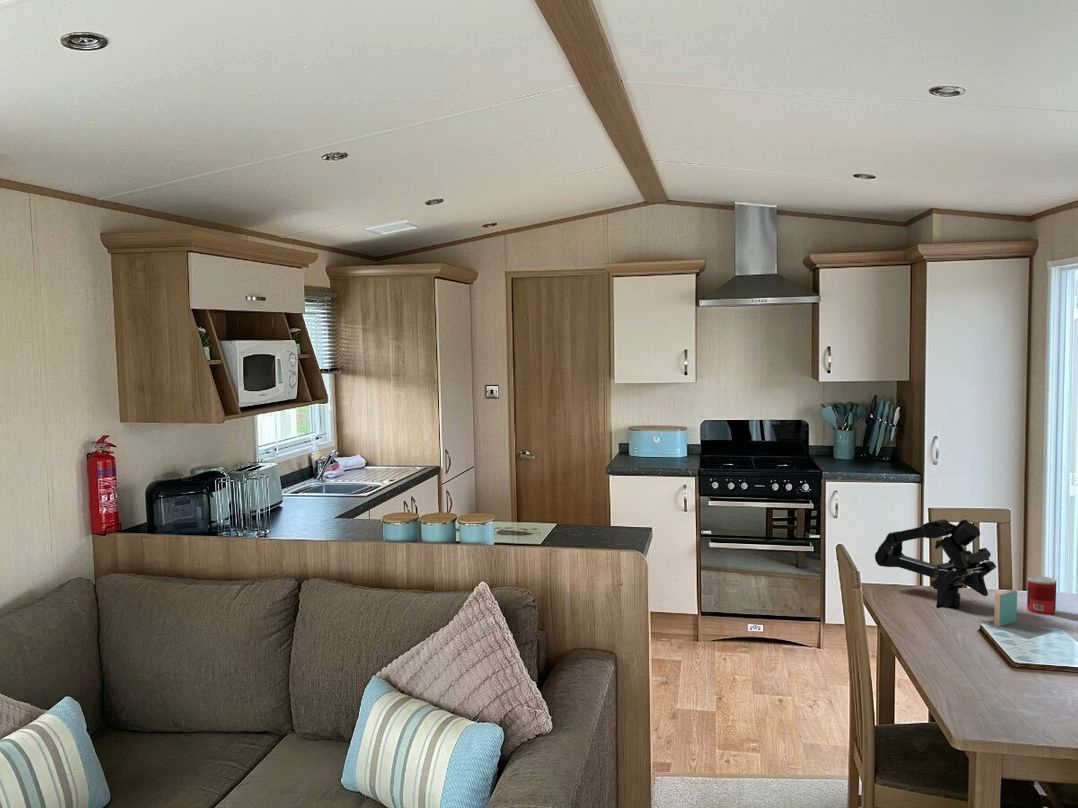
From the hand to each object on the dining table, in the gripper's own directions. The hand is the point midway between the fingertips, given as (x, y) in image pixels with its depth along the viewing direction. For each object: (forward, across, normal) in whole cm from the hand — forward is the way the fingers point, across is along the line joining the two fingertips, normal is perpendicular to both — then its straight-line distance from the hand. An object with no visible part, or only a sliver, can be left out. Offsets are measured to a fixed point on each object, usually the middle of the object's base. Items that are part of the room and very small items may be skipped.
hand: (986, 595), depth 267 cm
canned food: (+9, +21, +2) cm, 23 cm away
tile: (+10, 0, 0) cm, 10 cm away
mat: (+13, 0, -3) cm, 13 cm away
